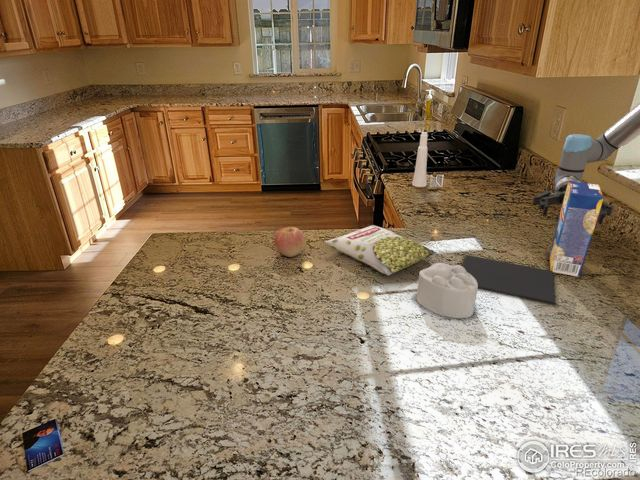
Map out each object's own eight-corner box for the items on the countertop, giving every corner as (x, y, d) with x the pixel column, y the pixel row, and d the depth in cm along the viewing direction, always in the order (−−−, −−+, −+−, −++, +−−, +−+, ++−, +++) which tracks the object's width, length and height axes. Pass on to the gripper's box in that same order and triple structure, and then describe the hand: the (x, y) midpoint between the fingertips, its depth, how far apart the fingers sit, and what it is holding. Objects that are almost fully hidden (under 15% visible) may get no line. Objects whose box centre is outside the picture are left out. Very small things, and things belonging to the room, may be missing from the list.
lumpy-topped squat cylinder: (437, 284, 108) (441, 254, 104) (483, 307, 99) (489, 275, 95) (410, 299, 102) (414, 268, 98) (457, 325, 93) (463, 291, 89)
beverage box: (576, 258, 120) (598, 184, 110) (579, 277, 111) (603, 197, 101) (549, 254, 122) (568, 181, 113) (550, 271, 113) (571, 193, 104)
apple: (286, 264, 118) (285, 238, 115) (269, 252, 124) (267, 227, 121) (311, 254, 123) (310, 229, 120) (293, 244, 129) (292, 220, 126)
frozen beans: (389, 265, 105) (322, 233, 122) (387, 285, 107) (322, 251, 124) (439, 243, 117) (372, 216, 134) (436, 261, 120) (371, 233, 137)
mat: (552, 272, 113) (552, 270, 113) (553, 304, 100) (554, 302, 100) (466, 256, 121) (466, 255, 121) (457, 283, 108) (457, 281, 108)
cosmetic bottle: (418, 181, 183) (423, 130, 173) (429, 185, 178) (435, 132, 169) (408, 184, 179) (413, 132, 170) (420, 188, 175) (425, 134, 165)
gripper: (528, 175, 138) (526, 195, 120) (618, 185, 128) (630, 209, 111) (523, 197, 141) (521, 220, 124) (611, 208, 131) (622, 235, 114)
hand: (572, 215), depth 117 cm, fingers open, 13 cm apart
